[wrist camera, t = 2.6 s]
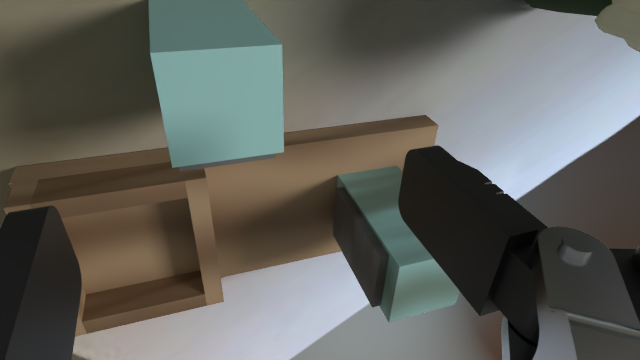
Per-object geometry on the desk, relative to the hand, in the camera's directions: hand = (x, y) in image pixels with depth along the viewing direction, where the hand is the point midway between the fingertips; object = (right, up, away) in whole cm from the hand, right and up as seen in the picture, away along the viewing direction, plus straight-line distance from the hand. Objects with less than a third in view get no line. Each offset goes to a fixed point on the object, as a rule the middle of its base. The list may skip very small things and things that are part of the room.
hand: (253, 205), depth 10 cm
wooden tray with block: (-3, -1, +17) cm, 17 cm away
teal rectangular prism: (-4, +7, +10) cm, 13 cm away
